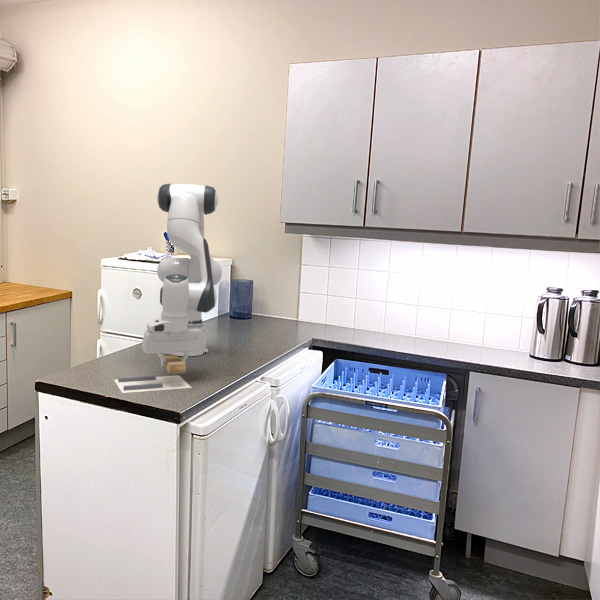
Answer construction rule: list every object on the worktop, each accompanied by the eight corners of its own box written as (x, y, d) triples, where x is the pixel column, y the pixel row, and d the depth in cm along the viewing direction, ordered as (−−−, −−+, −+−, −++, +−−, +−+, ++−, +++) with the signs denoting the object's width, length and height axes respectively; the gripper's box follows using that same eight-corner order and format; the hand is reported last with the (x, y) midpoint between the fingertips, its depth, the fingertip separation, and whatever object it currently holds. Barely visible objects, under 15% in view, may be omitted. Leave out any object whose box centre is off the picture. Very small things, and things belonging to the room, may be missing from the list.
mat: (113, 381, 187) (114, 376, 187) (179, 377, 197) (179, 372, 197) (122, 394, 174) (122, 389, 173) (191, 389, 184) (192, 384, 184)
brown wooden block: (161, 364, 192) (161, 355, 192) (175, 363, 195) (176, 354, 194) (170, 374, 182) (170, 365, 181) (185, 373, 184) (185, 364, 184)
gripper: (202, 321, 194) (200, 360, 196) (141, 323, 184) (140, 364, 186) (208, 325, 188) (206, 365, 190) (146, 327, 179) (144, 369, 181)
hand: (173, 364), depth 188 cm, fingers closed on brown wooden block, 5 cm apart
